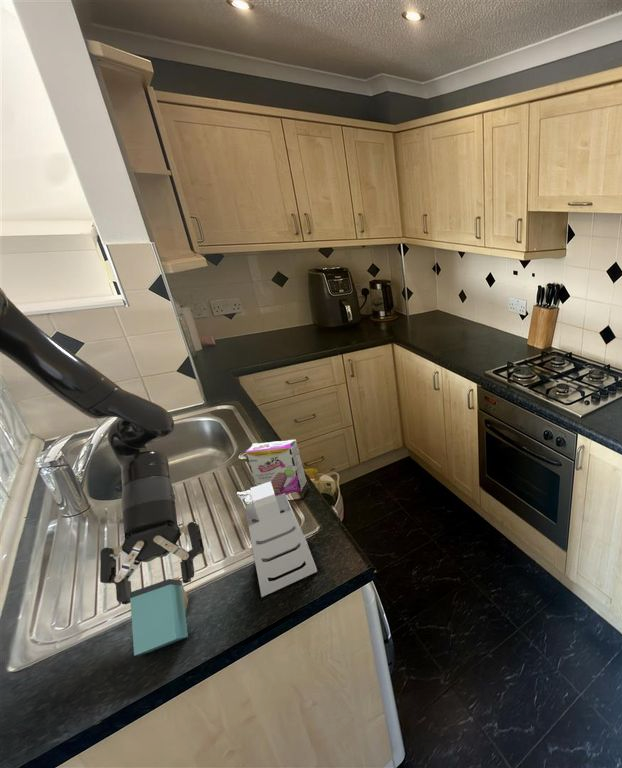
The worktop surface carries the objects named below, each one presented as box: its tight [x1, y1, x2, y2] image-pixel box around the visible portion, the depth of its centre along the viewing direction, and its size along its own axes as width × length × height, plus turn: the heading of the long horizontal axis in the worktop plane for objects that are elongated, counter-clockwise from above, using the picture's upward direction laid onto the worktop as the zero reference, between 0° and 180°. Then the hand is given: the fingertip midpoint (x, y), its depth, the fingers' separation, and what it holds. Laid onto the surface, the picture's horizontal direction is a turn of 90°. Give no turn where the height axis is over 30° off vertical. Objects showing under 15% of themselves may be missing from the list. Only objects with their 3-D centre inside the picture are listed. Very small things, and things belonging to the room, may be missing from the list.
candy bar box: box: [245, 439, 308, 496], centre depth 109 cm, size 11×5×16 cm, turn 100°
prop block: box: [173, 576, 189, 615], centre depth 77 cm, size 3×4×6 cm
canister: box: [129, 578, 189, 657], centre depth 71 cm, size 6×11×11 cm, turn 30°
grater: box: [244, 481, 318, 598], centre depth 84 cm, size 10×10×20 cm
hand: (157, 592), depth 72 cm, fingers open, 8 cm apart
